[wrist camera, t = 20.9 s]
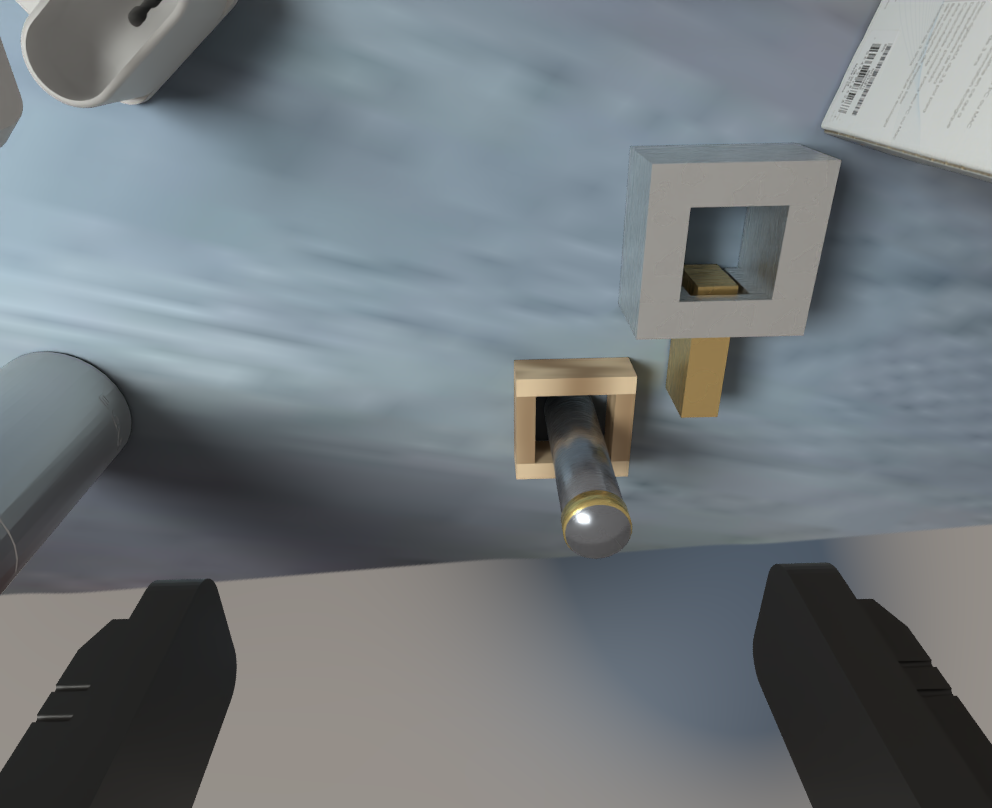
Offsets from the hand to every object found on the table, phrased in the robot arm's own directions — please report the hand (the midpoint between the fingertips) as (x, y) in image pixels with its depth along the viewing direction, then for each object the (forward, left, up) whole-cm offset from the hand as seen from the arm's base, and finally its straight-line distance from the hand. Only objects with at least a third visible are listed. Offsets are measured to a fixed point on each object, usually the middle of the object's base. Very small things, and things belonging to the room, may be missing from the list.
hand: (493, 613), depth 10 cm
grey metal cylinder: (+6, -17, -36) cm, 40 cm away
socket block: (+14, -4, -36) cm, 39 cm away
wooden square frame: (+6, -17, -36) cm, 40 cm away
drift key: (+14, -11, -36) cm, 40 cm away
